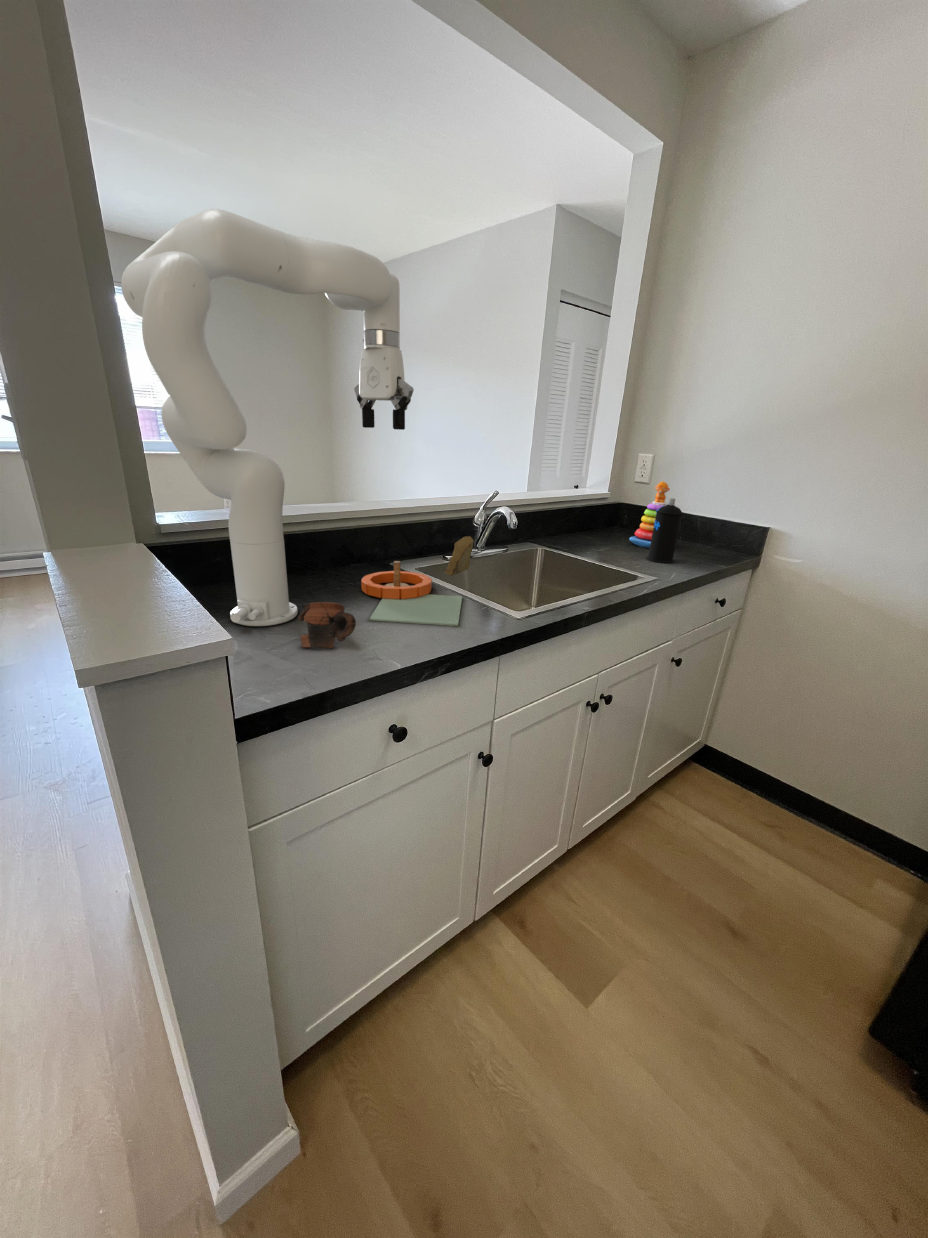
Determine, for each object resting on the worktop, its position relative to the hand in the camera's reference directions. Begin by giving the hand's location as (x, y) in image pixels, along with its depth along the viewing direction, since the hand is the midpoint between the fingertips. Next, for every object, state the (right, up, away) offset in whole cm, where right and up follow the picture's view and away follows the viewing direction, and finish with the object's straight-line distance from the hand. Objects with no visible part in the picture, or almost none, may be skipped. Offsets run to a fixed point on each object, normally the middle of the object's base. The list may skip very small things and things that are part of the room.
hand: (383, 428), depth 112 cm
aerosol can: (+83, -24, +52) cm, 101 cm away
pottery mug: (-6, -47, -22) cm, 52 cm away
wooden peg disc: (+2, -36, +8) cm, 37 cm away
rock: (+16, -30, +26) cm, 43 cm away
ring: (+2, -36, +8) cm, 37 cm away
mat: (+8, -41, -3) cm, 42 cm away
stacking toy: (+88, -16, +73) cm, 116 cm away
